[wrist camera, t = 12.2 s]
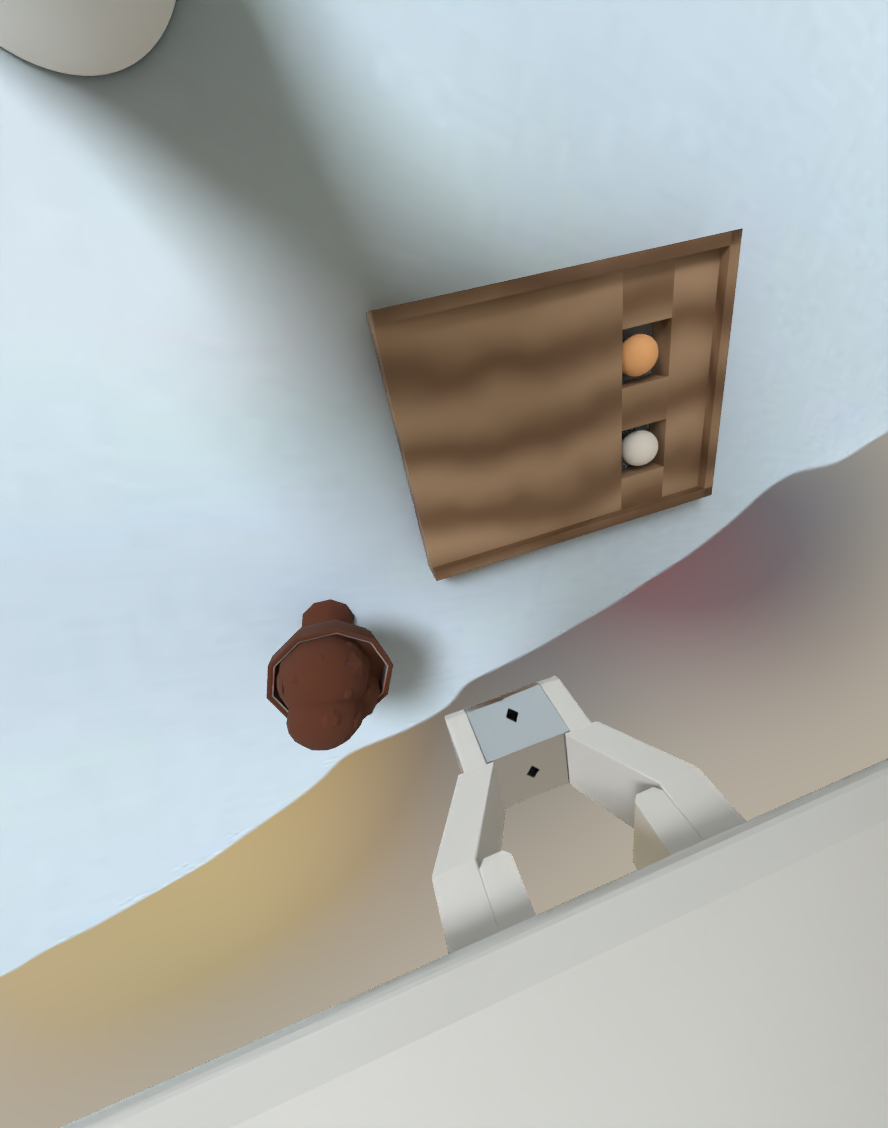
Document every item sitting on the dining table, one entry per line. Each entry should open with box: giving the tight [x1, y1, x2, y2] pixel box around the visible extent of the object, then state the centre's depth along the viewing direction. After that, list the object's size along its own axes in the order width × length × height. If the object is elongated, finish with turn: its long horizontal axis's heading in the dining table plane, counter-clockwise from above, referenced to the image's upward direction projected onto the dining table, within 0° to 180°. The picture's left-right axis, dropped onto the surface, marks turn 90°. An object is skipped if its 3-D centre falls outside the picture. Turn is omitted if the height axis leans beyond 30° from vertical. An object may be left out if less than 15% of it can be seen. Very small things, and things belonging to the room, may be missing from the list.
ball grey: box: [622, 430, 658, 466], centre depth 45 cm, size 4×4×4 cm
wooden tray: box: [366, 229, 742, 581], centre depth 42 cm, size 24×32×4 cm
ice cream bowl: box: [267, 600, 393, 750], centre depth 41 cm, size 11×11×15 cm
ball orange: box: [622, 334, 658, 376], centre depth 41 cm, size 4×4×4 cm
